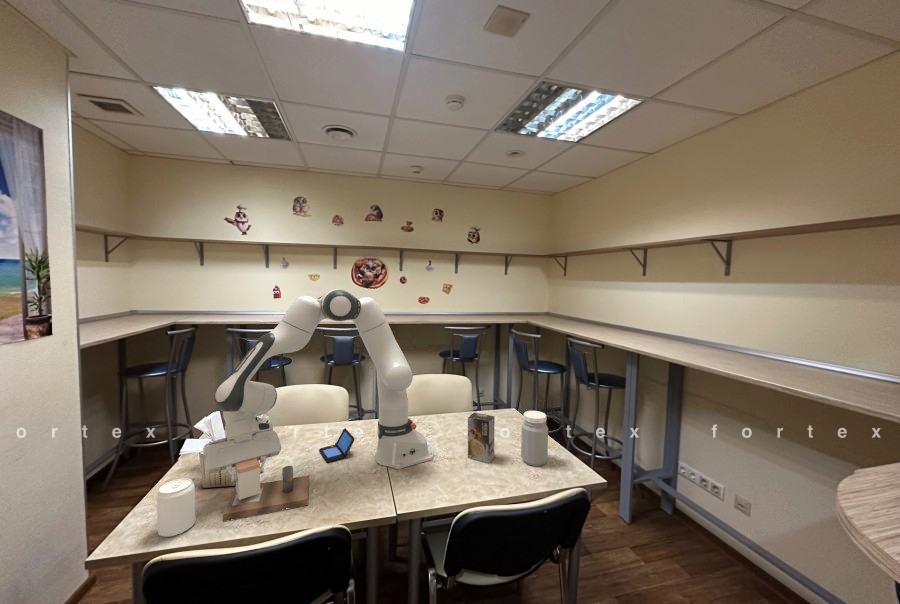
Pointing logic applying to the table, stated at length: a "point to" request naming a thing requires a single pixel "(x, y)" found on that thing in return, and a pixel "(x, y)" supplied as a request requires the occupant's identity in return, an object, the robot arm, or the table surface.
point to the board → (270, 497)
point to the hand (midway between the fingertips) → (248, 476)
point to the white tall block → (248, 478)
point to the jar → (534, 438)
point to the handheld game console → (338, 448)
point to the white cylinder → (176, 507)
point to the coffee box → (481, 437)
